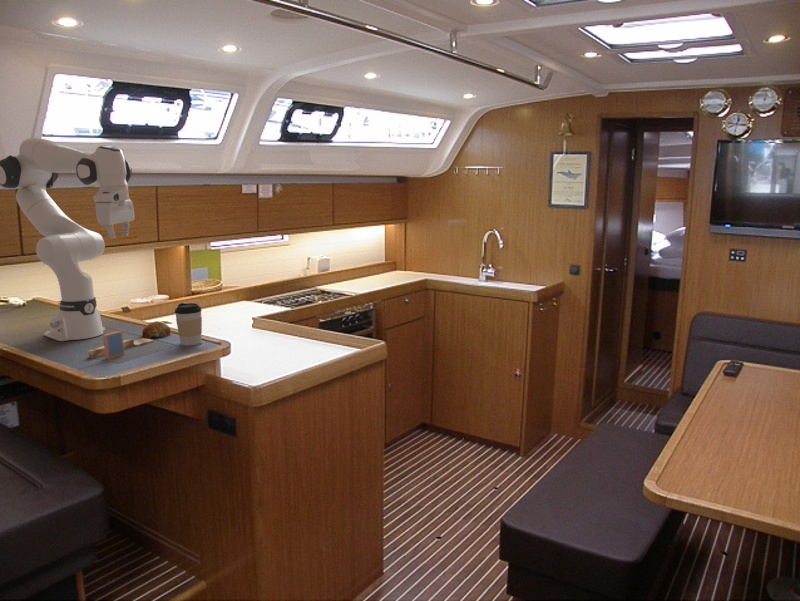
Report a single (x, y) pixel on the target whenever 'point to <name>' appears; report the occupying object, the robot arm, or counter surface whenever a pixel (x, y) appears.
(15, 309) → the counter surface
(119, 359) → the mat
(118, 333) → the tile
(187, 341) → the coffee cup
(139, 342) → the spatula
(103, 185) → the robot arm
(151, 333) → the bread roll
